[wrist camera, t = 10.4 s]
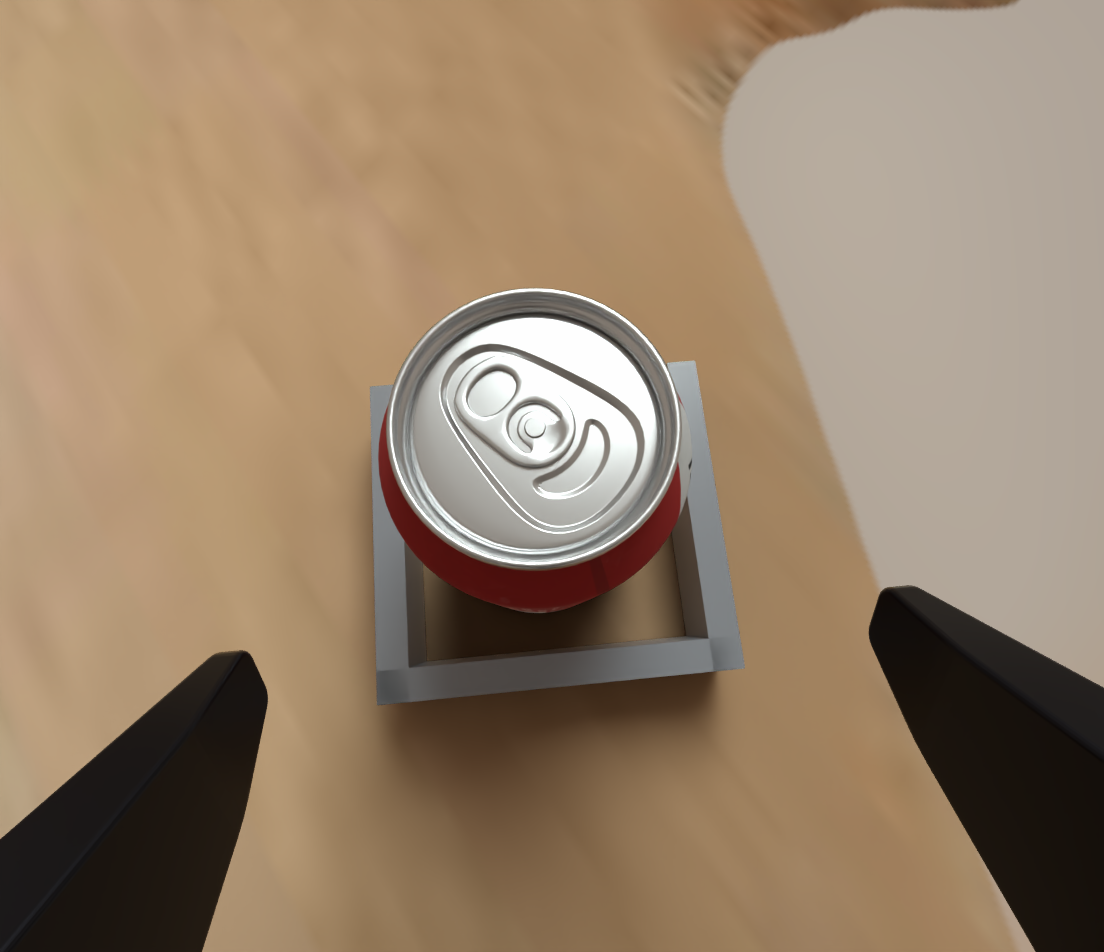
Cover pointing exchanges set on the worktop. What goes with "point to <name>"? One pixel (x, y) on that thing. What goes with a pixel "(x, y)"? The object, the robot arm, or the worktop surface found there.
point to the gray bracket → (699, 651)
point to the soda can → (534, 449)
